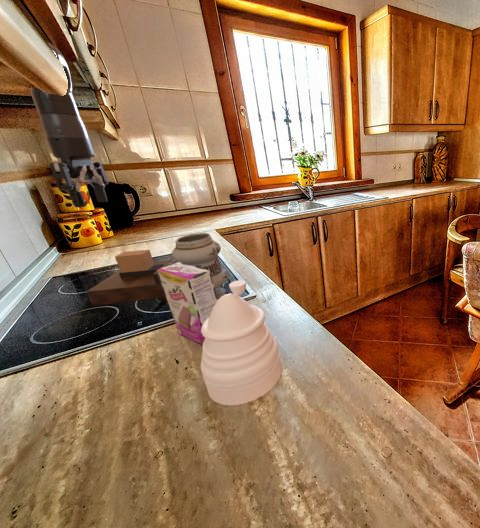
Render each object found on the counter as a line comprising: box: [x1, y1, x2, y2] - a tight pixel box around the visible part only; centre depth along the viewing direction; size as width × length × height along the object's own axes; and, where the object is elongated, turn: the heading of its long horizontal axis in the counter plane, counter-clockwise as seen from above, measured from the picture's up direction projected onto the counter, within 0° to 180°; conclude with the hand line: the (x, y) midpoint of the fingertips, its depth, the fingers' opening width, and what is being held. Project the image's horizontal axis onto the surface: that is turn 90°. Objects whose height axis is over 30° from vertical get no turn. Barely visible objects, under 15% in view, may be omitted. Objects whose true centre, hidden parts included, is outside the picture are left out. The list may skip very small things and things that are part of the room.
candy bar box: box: [157, 262, 218, 346], centre depth 59 cm, size 11×5×16 cm, turn 61°
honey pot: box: [199, 279, 283, 406], centre depth 47 cm, size 13×13×18 cm
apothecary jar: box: [171, 232, 229, 300], centre depth 77 cm, size 12×12×18 cm
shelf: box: [86, 257, 178, 306], centre depth 83 cm, size 18×20×9 cm
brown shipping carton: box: [114, 249, 164, 278], centre depth 82 cm, size 10×5×6 cm, turn 100°
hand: (92, 204), depth 72 cm, fingers open, 8 cm apart
